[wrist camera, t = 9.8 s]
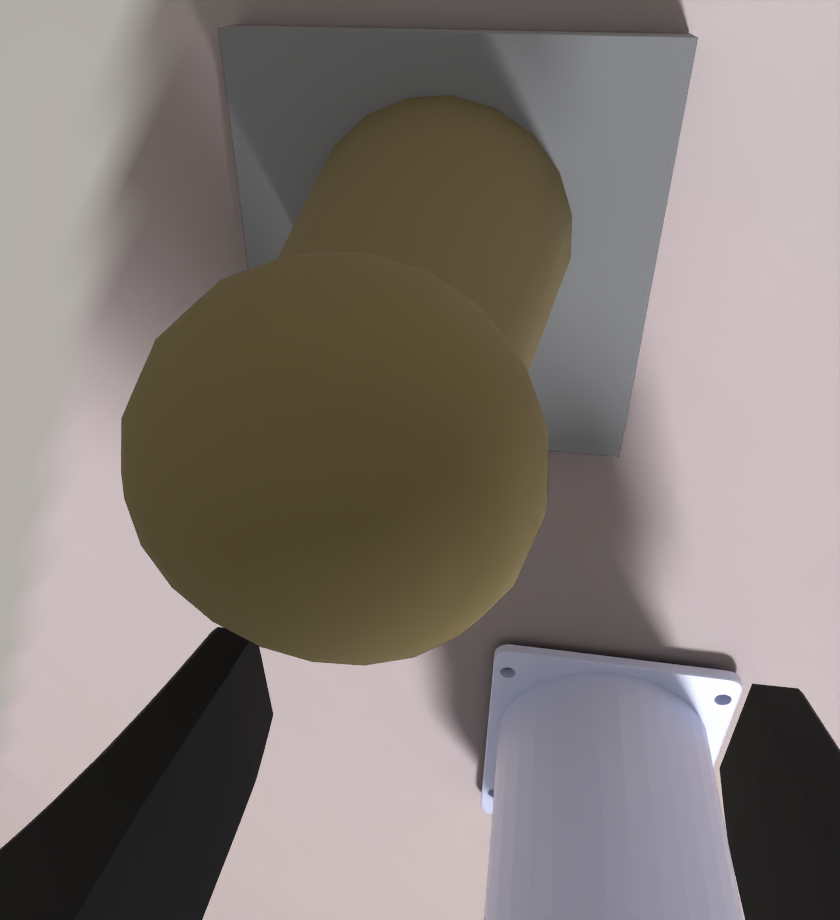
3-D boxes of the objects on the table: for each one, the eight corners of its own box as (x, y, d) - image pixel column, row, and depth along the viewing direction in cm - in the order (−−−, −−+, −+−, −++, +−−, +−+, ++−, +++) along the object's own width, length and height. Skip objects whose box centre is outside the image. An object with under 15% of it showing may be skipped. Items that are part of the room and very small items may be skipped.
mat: (616, 436, 20) (619, 456, 19) (278, 408, 21) (267, 425, 20) (690, 33, 15) (697, 37, 14) (235, 25, 16) (218, 27, 15)
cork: (260, 245, 18) (-54, 541, 9) (425, 24, 15) (208, 120, 6) (447, 404, 19) (350, 796, 10) (631, 236, 16) (725, 578, 7)
